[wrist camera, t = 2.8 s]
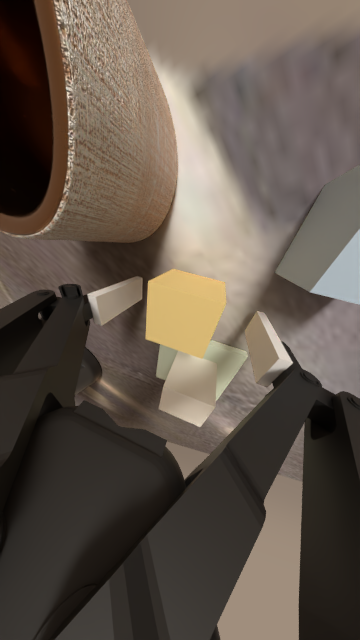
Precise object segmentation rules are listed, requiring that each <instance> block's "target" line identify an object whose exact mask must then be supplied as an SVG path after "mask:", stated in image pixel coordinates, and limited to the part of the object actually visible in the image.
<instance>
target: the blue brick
mask: <svg viewBox="0 0 360 640" xmlns="http://www.w3.org/2000/svg"><path fill="white" fill-rule="evenodd" d="M275 273H276V274H277V275H279V276H281V277H283V278H285V279H287V280H288V281H290V282H292V283H294V284H296V285H297V286H299V287H301V288H303V289H305V290H307V291H308V292H311V293H315V294H319V295H323V296H327V297H331V298H335V299H339V300H343V301H347V302H351V303H355V304H359V305H360V165H358V166H356V167H355V168H353V169H351V170H350V171H348V172H346V173H344V174H343V175H341V176H339V177H337V178H336V179H334V180H332V181H331V182H329V183H327V184H325V185H324V187H323V189H322V191H321V192H320V194H319V196H318V198H317V199H316V201H315V203H314V205H313V206H312V208H311V210H310V212H309V213H308V215H307V217H306V219H305V220H304V222H303V224H302V226H301V227H300V229H299V231H298V233H297V234H296V236H295V238H294V240H293V241H292V243H291V245H290V247H289V248H288V250H287V252H286V254H285V255H284V257H283V259H282V260H281V262H280V264H279V266H278V267H277V269H276V271H275Z"/></svg>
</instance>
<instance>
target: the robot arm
mask: <svg viewBox="0 0 360 640" xmlns="http://www.w3.org/2000/svg"><path fill="white" fill-rule="evenodd" d="M142 285H143V278H142V277H138V276H136V277H133V278H130V279H128V280H125V281H122V282H119V283H117V284H114V285H111V286H108V287H106V288H103V289H100V290H98V291H95V292H92V293H89V294H87V295H84V296H83V294H82V290H81V286H79V285H77V284H65V285H61V286H59V290H60V293H61V295H62V298H61V297H56V295H55V292H54V291H52V290H39V291H35V292H32V293H30V294H28V295H27V296H25V297H23V298H21V299H19V300H17V301H15V302H13V303H11V304H9V305H7V306H6V307H4V308H2V309H0V640H220V636H219V632H218V627H217V623H218V621H219V619H220V616H221V614H222V612H223V610H224V608H225V606H226V603H227V602H228V599H229V597H230V595H231V593H232V591H233V589H234V587H235V584H236V582H237V580H238V578H239V576H240V574H241V572H242V570H243V567H244V565H245V563H246V561H247V559H248V557H249V555H250V553H251V550H252V548H253V546H254V544H255V542H256V540H257V538H258V536H259V533H260V531H261V529H262V527H263V524H264V521H265V517H266V510H265V507H264V499H265V497H266V495H267V493H268V491H269V489H270V487H271V485H272V483H273V481H274V479H275V477H276V475H277V474H278V472H279V470H280V468H281V466H282V464H283V462H284V460H285V458H286V456H287V454H288V452H289V451H290V449H291V447H292V445H293V443H294V441H295V439H296V437H297V435H298V433H299V431H300V429H301V428H302V426H303V424H304V422H305V429H304V460H303V491H302V522H301V552H300V554H301V555H300V584H299V585H300V586H299V640H360V399H359V398H357V397H356V396H354V395H352V394H350V393H348V392H344V391H342V392H339V393H338V394H336V395H335V394H333V393H331V392H329V391H328V390H326V389H324V388H322V385H321V383H320V381H319V380H318V379H317V378H316V377H315V376H313V375H312V374H311V373H309V372H307V371H306V370H303V369H302V368H301V366H300V365H299V363H298V361H297V360H296V358H295V357H294V355H293V353H292V352H291V350H290V348H289V347H288V346H287V345H286V344H285V343H284V342H282V341H280V339H279V337H278V336H277V334H276V332H275V330H274V329H273V327H272V325H271V323H270V322H269V320H268V318H267V316H266V314H265V313H263V312H260V311H256V313H255V315H254V316H253V318H252V320H251V321H250V323H249V325H248V326H247V328H246V330H245V335H246V340H247V345H248V349H249V354H250V358H251V363H252V367H253V372H254V376H255V381H256V383H257V384H259V385H262V386H265V387H268V386H269V385H270V384H271V383H273V386H274V389H272V390H271V391H270V392H269V393H268V394H267V395H266V396H265V398H264V399H263V400H262V401H261V402H260V403H259V404H258V405H257V406H256V407H255V408H254V409H253V410H252V411H251V412H250V413H249V414H248V415H247V416H246V417H245V418H244V419H243V420H242V422H241V423H240V424H239V425H238V426H237V427H236V428H235V429H234V430H233V431H232V432H231V433H230V434H229V435H228V436H227V437H226V438H225V439H224V440H223V441H222V442H221V443H220V444H219V445H218V447H217V448H216V449H215V450H214V451H213V452H212V453H211V454H210V455H209V456H208V457H207V458H206V459H205V460H204V461H203V462H202V463H201V464H200V465H199V466H198V467H197V468H196V469H195V470H194V471H193V472H192V473H191V474H190V475H189V476H188V477H187V478H186V479H185V480H184V478H183V475H182V472H181V469H180V467H179V465H178V463H177V461H176V460H175V458H174V456H173V455H172V453H171V452H170V451H169V450H168V449H167V448H166V447H165V445H166V442H167V440H165V439H163V438H161V437H159V436H157V435H155V434H153V433H151V432H149V431H147V430H143V429H134V428H125V427H119V426H118V425H117V424H116V423H115V422H114V421H113V420H112V419H111V418H110V416H109V415H108V414H107V413H106V412H105V411H104V410H103V409H101V408H99V407H97V406H95V405H93V404H91V403H89V402H87V401H85V400H84V401H83V402H82V403H81V404H80V405H79V406H75V400H74V396H75V395H76V394H78V393H79V392H81V391H82V390H84V389H85V388H87V387H88V386H90V385H92V384H93V383H94V382H95V381H96V380H97V379H98V378H99V377H100V376H101V367H100V365H99V363H98V361H97V360H96V359H95V357H94V356H93V355H92V354H91V353H90V352H89V351H88V350H87V349H86V348H85V344H86V340H87V335H88V331H89V326H90V320H89V319H91V318H93V320H94V323H95V324H98V325H101V326H102V325H104V324H105V323H107V322H108V321H110V320H111V319H113V318H114V317H116V316H117V315H119V314H120V313H122V312H123V311H125V310H126V309H128V308H129V307H131V306H132V305H134V304H135V303H137V302H138V301H140V300H141V299H142ZM39 312H40V314H41V316H42V318H41V319H39V318H38V313H39Z"/></svg>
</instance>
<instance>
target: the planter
mask: <svg viewBox="0 0 360 640" xmlns="http://www.w3.org/2000/svg"><path fill="white" fill-rule="evenodd" d="M177 165H178V159H177V144H176V136H175V130H174V125H173V121H172V116H171V113H170V109H169V105H168V102H167V99H166V96H165V94H164V91H163V88H162V86H161V83H160V81H159V78H158V76H157V73H156V71H155V68H154V66H153V63H152V61H151V58H150V56H149V53H148V51H147V48H146V46H145V43H144V41H143V38H142V36H141V34H140V31H139V29H138V26H137V24H136V21H135V19H134V16H133V14H132V12H131V9H130V7H129V4H128V2H127V0H0V232H2V233H5V234H7V235H10V236H13V237H17V238H23V239H43V240H75V241H98V242H120V243H132V242H137V241H140V240H143V239H145V238H147V237H149V236H150V235H152V234H153V233H154V232H155V231H156V230H157V229H158V228H159V226H160V225H161V224H162V222H163V221H164V219H165V217H166V215H167V213H168V211H169V208H170V206H171V203H172V200H173V196H174V192H175V186H176V179H177Z"/></svg>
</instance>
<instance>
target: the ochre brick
mask: <svg viewBox="0 0 360 640" xmlns="http://www.w3.org/2000/svg"><path fill="white" fill-rule="evenodd" d="M225 305H226V291H225V282H221V281H218V280H214V279H210V278H206V277H202V276H199V275H195V274H191V273H187V272H183V271H179V270H176V269H172V270H170V271H168V272H166V273H164V274H162V275H160V276H158V277H156V278H154V279H152V280H150V281H148V296H147V319H146V339H147V340H150V341H153V342H156V343H158V344H161V345H164V346H167V347H170V348H172V349H175V350H178V351H181V352H184V353H187V354H189V355H192V356H195V357H198V358H201V359H203V357H204V354H205V352H206V350H207V347H208V345H209V343H210V340H211V338H212V336H213V333H214V331H215V329H216V326H217V324H218V322H219V319H220V317H221V315H222V312H223V310H224V308H225Z"/></svg>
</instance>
